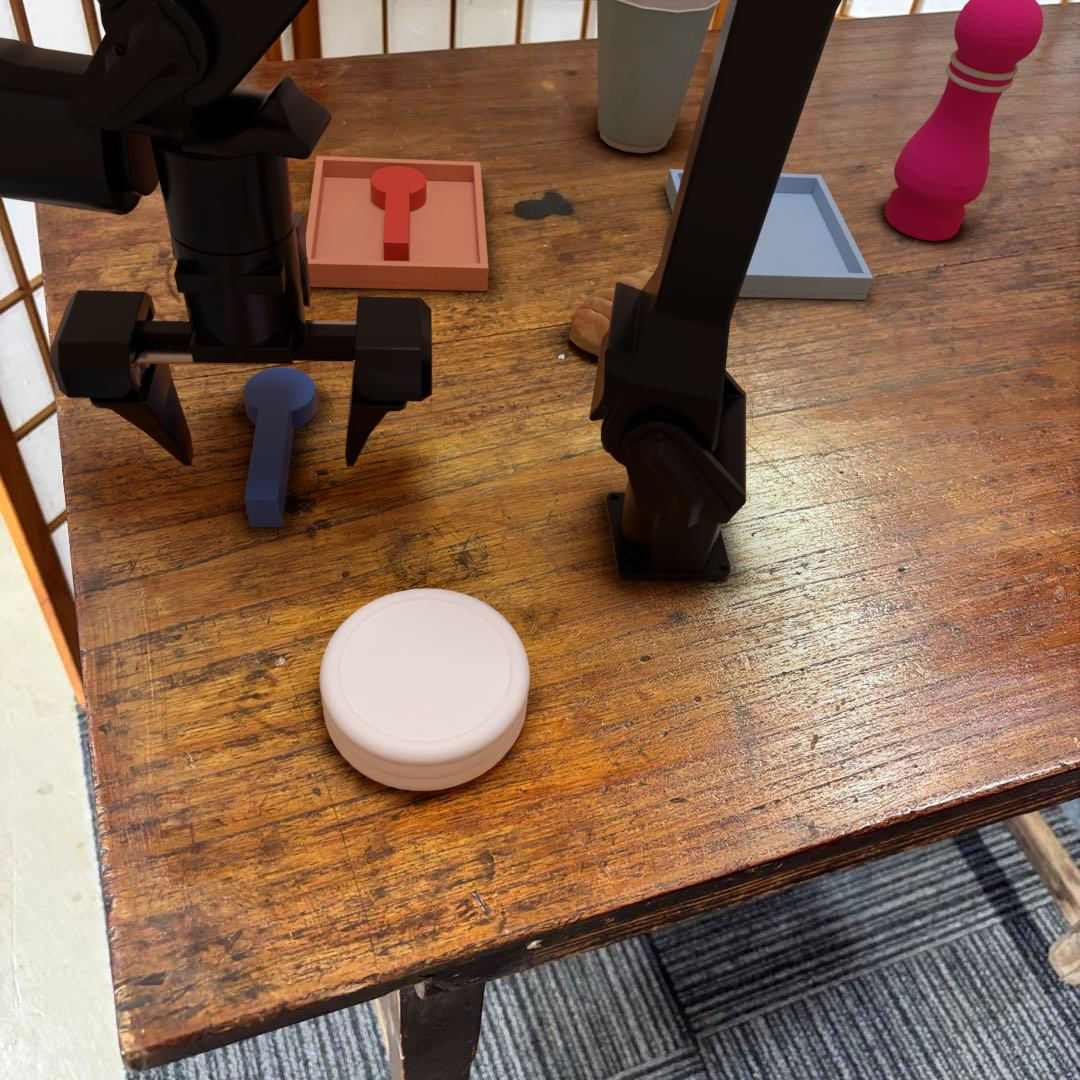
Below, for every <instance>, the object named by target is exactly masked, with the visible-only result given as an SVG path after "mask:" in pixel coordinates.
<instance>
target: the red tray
mask: <svg viewBox="0 0 1080 1080" xmlns="http://www.w3.org/2000/svg"><path fill="white" fill-rule="evenodd" d="M314 163H315V164H314V169H313V171H314V172H313V179H312V185H311V186H312V187H311V193H310V200H309V208H308V215H307V223H306V228H305V232H306V250H307V257H308V268H309V278H310V287H311V288H339V289H376V290H377V289H381V290H383V289H384V290H385V289H386V290H390V289H391V290H421V291H422V290H423V291H427V290H429V291H465V292H466V291H468V292H487V291H488V288H489V286H488V285H489V257H488V244H487V231H486V218H485V217H486V216H485V205H484V204H485V203H484V192H483V178H482V177H483V176H482V165H481V162H480V161H463V160H462V161H461V160H460V161H459V160H436V159H435V160H434V159H408V158H381V157H378V158H377V157H357V156H355V157H353V156H327V155H316V157H315V162H314ZM389 166H405V167H410V168H413V169H416V170H418V171H420V172H421V173H422V174H423V175H424V176H425V178H426V188H427V198H426V202H425V204H424V205H423V206H422V207H420V208H418V209H416V210H413V211H410V246H409V261H384V246H383V239H384V217H385V210H383V209H381V208H379V207H377V206H376V205H375V204H374V203H373V201H372V199H371V186H370V178H371V176H372V174H373V173H374V172H375V171H377V170H379V169H381V168H384V167H389Z"/></svg>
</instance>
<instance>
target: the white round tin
mask: <svg viewBox="0 0 1080 1080" xmlns="http://www.w3.org/2000/svg"><path fill="white" fill-rule="evenodd" d="M318 679H319V682H318V683H319V691H320V692H319V693H320V695H321V705H322V710H323V719H324V723H325V727H326V729H327V733H328V735H329V737H330V739H331V741H332V743H333V744H334V746H335V748H336V749H337V750H338V752H339V753H340V754H341V756H342V757H343V758H344V759H345V761H347V762H348V763H349V764H350V765H351V767H353V768H354V769H355V770H357V771H358V772H359V773H361V774H362V775H363V776H365V777H367V778H369V779H371V780H372V781H374V782H377V783H379V784H382V785H384V786H387V787H390V788H395V789H397V790H403V791H404V790H406V791H410V792H411V791H412V792H431V791H439V790H440V791H441V790H445V789H449V788H453V787H457V786H460V785H462V784H465V783H469V782H470V781H472V780H474V779H476V778H478V777H481V776H482V775H483V774H485V773H486V772H488V771H489V770H490V769H492V768H493V767H494V766H496V765H497V764H498V763H499V762H501V760H502V759H503V758H504V757H505V755H507V754H508V752H509V751H510V749H511V748H512V747H513V745H514V744H515V742H516V741H517V739H518V737H519V736H520V734H521V732H522V728H523V726H524V723H525V719H526V716H527V705H528V701H529V691H530V683H531V669H530V662H529V658H528V654H527V652H526V649H525V646H524V644H523V642H522V640H521V638H520V636H519V634H518V633H517V631H516V630H515V628H514V627H513V626H512V624H511V623H510V622H509V621H508V620H507V619H506V618H505V616H504V615H502V614H501V613H500V612H499V611H497V610H496V609H495V608H493V607H491V605H489V604H488V603H486V602H484V601H482V600H480V599H478V598H476V597H474V596H471V595H468V594H465V593H462V592H459V591H455V590H449V589H443V588H430V587H429V588H427V587H426V588H425V587H423V588H411V589H405V590H400V591H396V592H393V593H389V594H386V595H383V596H381V597H378V598H376V599H374V600H372V601H369V602H368V603H366V604H365V605H362V606H361V607H360V608H358V609H357V610H356V611H354V612H353V613H352V614H351V615H349V616H348V617H347V618H346V619H345V620H344V621H343V622H342V623H341V624H340V625H339V627H337V629H336V630H335V631H334V633H333V635H332V636H331V638H330V640H329V641H328V644H327V646H326V648H325V650H324V653H323V655H322V659H321V662H320V666H319V677H318Z"/></svg>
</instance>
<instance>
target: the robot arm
mask: <svg viewBox="0 0 1080 1080" xmlns="http://www.w3.org/2000/svg"><path fill="white" fill-rule="evenodd" d="M310 1H311V0H96V2H97V3H98V5H99V15H100V22H101V26H102V29H103V31H104V33H105V34H104V36H103V38H102V40H101V41H100V42H99V43H100V44H98V47H97V48H96V51H95V53H94V54H85V53H81V52H80V53H79V52H72V51H66V50H58V49H52V48H44V47H41V46H37V45H33V44H30V43H29V42H26V41H23V40H19V39H16V38H15V39H14V38H9V37H8V38H7V37H1V36H0V198H2V199H8V200H16V201H21V202H29V203H35V204H42V205H48V206H55V207H62V208H69V209H74V210H81V211H88V212H93V213H94V212H95V213H102V214H109V215H116V216H124V215H128V214H130V213H131V212H133V211H134V210H135V209H136V207H137V206H138V205H139V203H140V201H141V199H142V197H147V196H150V195H152V194H153V193H154V192H155V190H156V189H157V188H158V185H159V187H160V191H161V195H162V200H163V206H164V210H165V215H166V219H167V224H168V228H169V235H170V242H171V252H172V256H173V258H174V260H175V262H176V265H175V269H174V271H173V276H174V281H175V286H176V291H177V293H178V294H183V300H184V305H185V309H186V314H187V318H188V320H154V319H155V315H156V309H155V305H154V300H153V297H152V295H151V294H150V293H148V292H147V291H144V290H143V291H140V290H139V291H137V290H99V289H98V290H96V289H92V290H91V289H90V290H89V289H88V290H87V289H77V291H76V292H75V293H74V294H73V295H72V296H71V298H70V299H69V300H68V302H67V304H66V307H65V309H64V312H63V314H62V317H61V320H60V322H59V325H58V328H57V331H56V333H55V335H54V338H53V340H52V343H51V346H50V349H49V350H50V366H51V369H52V374H53V375H54V379H55V382H56V384H57V387H58V391H60V392H61V393H62V394H64V395H65V396H66V397H67V398H69V399H70V398H71V399H89V401H90V403H91V405H92V406H93V407H94V408H97V409H103V410H105V409H106V410H111V411H112V412H114V413H115V414H117V415H118V416H120V417H121V418H123V419H124V420H126V421H127V422H128V423H130V424H131V425H133V426H134V427H136V428H137V429H139V430H140V431H141V432H143V433H145V434H146V435H147V436H148V437H149V438H151V440H153V441H155V443H157V444H158V445H159V446H160V447H161V448H162V449H164V450H165V451H166V452H167V453H168V454H169V455H171V456H172V457H173V458H174V459H176V460H177V462H179V463H180V464H181V465H182V466H184V467H192V466H193V461H194V458H195V452H194V446H193V440H192V435H191V430H190V427H189V424H188V422H187V418H186V415H185V413H184V409H183V406H182V403H181V400H180V398H179V395H178V391H177V388H176V386H175V382H174V379H173V376H172V373H171V367H170V365H193V366H194V365H196V366H199V365H202V366H261V367H262V366H263V367H264V366H268V365H293V364H294V362H346V363H347V362H349V363H351V362H353V363H352V364H353V365H352V375H351V382H350V383H351V385H350V393H349V404H348V414H347V425H346V433H345V435H346V436H345V437H346V438H345V450H344V458H345V463H346V467H347V468H354V467H355V466H356V464H357V461H358V460H359V456H360V455H361V452H362V451H363V449H364V447H365V445H366V443H367V441H368V439H369V437H370V436H371V434H372V433H373V432H374V430H375V429H376V428H377V426H378V425H379V424H380V422H382V420H383V419H384V418H385V417H386V415H387V414H388V413H390V412H401V411H404V410H405V409H406V408H407V406H408V402H414V403H415V402H416V403H417V402H419V403H420V402H423V401H425V400H427V399H428V398H430V397H431V396H432V395H433V334H432V333H433V327H432V326H433V325H432V324H433V323H432V322H433V319H432V318H433V317H432V315H433V313H432V308H431V307H430V305H429V304H428V303H426V301H425V300H424V299H423V298H422V297H409V296H408V297H407V296H406V297H405V296H404V297H403V296H402V297H401V296H364V295H363V296H357V302H356V305H357V306H356V317H355V318H356V319H355V320H333V319H332V320H331V319H330V320H325V319H306V313H305V307H310V305H311V297H312V287H310V278H309V268H308V257H307V250H306V217H305V216H306V215H305V214H304V213H303V212H300V211H294V205H293V203H294V202H293V195H292V184H291V177H290V166H289V159H295V160H302V161H303V160H308V159H309V158H310V157H311V156H312V155H313V153H314V151H315V149H316V147H317V146H318V144H319V143H320V140H322V137H323V135H324V133H325V132H326V131H327V129H328V128H329V125H330V124H331V122H332V114H331V112H330V111H329V110H328V109H327V108H326V107H325V106H323V105H322V104H321V103H320V102H319V101H318V100H317V99H315V98H314V97H312V96H310V95H309V94H307V93H305V92H304V91H303V90H302V89H301V88H300V87H299V86H298V85H297V83H296V82H295V80H294V79H293V77H291V76H290V75H288V74H287V75H283V76H281V78H280V79H279V81H278V82H277V83H276V85H275V86H274V87H272V88H270V89H265V90H263V89H256V88H249V87H244V86H239V85H240V83H241V82H242V81H243V80H244V79H245V78H246V77H247V75H248V74H249V73H250V72H251V71H252V69H253V68H254V67H255V66H256V65H257V64H258V63H259V62H260V61H261V59H262V58H263V57H264V56H265V54H266V53H268V51H269V50H270V49H271V47H272V46H273V45H274V44H275V43H276V41H278V39H279V38H280V37H281V36H282V34H283V33H285V31H286V30H287V28H288V27H289V26H290V25H291V24H292V22H294V20H295V19H296V18H297V16H298V15H299V14H300V13H301V12H302V10H304V8H306V6H307V5H308V3H309V2H310ZM842 1H843V0H728V1H727V5H726V9H725V12H724V16H723V20H722V24H721V27H720V32H719V35H718V39H717V43H716V47H715V49H714V53H713V58H712V61H711V65H710V66H711V67H710V69H709V73H708V76H707V80H706V84H705V88H704V92H703V95H702V99H701V103H700V107H699V111H698V114H697V119H696V122H695V126H694V129H693V134H692V136H691V141H690V145H689V148H688V153H687V156H686V159H685V164H684V168H683V170H684V171H683V175H682V178H681V182H680V186H679V190H678V193H677V197H676V201H675V205H674V208H673V212H672V211H671V216H670V219H669V224H668V226H667V227H668V228H667V231H666V236H665V238H664V239H665V240H664V243H663V246H662V250H661V253H660V258H659V261H658V266H657V268H656V270H655V272H654V273H653V275H652V276H651V278H650V279H649V280H648V282H647V283H646V284H645V286H644V287H643V288H642V290H640V289H637V288H634V287H631V286H629V285H626V284H623V283H621V282H617V283H616V285H615V292H614V298H613V305H612V311H611V318H610V324H609V330H608V331H607V332H606V333H605V335H604V336H603V337H602V341H601V347H600V353H599V356H598V360H597V366H596V372H595V379H594V384H593V392H592V396H591V397H592V399H591V404H590V410H589V418H588V419H589V420H590V422H597V421H601V426H600V442H601V446H602V449H603V451H604V452H605V453H607V454H609V455H611V457H612V458H613V459H614V460H615V461H616V462H617V463H619V464H620V465H621V466H623V467H625V470H626V473H627V477H628V479H627V483H626V487H625V492H624V491H623V492H618V491H617V492H614V491H613V492H609V493H608V494H607V495H606V496H605V497H606V498H605V508H606V514H607V519H608V520H607V521H608V526H609V532H610V540H611V545H612V550H613V557H614V563H615V569H616V574H617V576H618V577H619V579H620V580H622V581H706V580H707V581H715V580H716V581H717V580H718V581H720V580H721V581H722V580H726V579H728V578H729V577H730V575H731V572H732V570H731V569H732V567H731V564H730V560H729V556H728V552H727V548H726V543H725V541H724V536H723V534H722V525H726V524H728V523H729V522H730V521H731V520H732V518H734V516H735V515H736V514H737V513H738V512H739V511H740V510H741V509H742V508H743V507H744V505H745V504H746V503H747V393H746V392H745V390H744V389H743V388H742V387H741V385H740V384H739V383H738V382H737V381H736V380H735V378H734V377H733V376H732V375H731V374H730V373H729V371H728V370H727V361H728V360H727V359H728V349H729V348H728V347H729V338H730V329H731V320H732V317H733V314H734V311H735V309H736V305H737V303H738V300H739V298H740V297H739V294H740V291H741V288H742V285H743V282H744V279H745V276H746V274H747V271H748V268H749V265H750V262H751V259H752V256H753V253H754V250H755V247H756V244H757V241H758V239H759V236H760V233H761V230H762V227H763V224H764V221H765V218H766V215H767V212H768V209H769V206H770V203H771V201H772V198H773V195H774V192H775V189H776V186H777V183H778V180H779V177H780V174H781V173H782V172H783V169H784V165H785V162H786V160H787V157H788V153H789V151H790V148H791V145H792V142H793V139H794V136H795V133H796V130H797V128H798V125H799V121H800V119H801V116H802V113H803V110H804V107H805V104H806V102H807V99H808V95H809V92H810V90H811V87H812V84H813V81H814V78H815V76H816V72H817V69H818V67H819V63H820V60H821V57H822V55H823V51H824V48H825V45H826V42H827V40H828V38H829V34H830V32H831V29H832V26H833V23H834V20H835V17H836V14H837V11H838V9H839V7H840V5H841V3H842ZM626 571H628V572H626Z"/></svg>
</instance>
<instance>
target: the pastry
mask: <svg viewBox="0 0 1080 1080" xmlns="http://www.w3.org/2000/svg"><path fill="white" fill-rule="evenodd" d="M658 264H659V263H658ZM658 264H657V263H655V264H654V265H652V266H647V267H645V268H643V270H639V271H637V272H631V273H630V272H628V273H626V274H624V275H620V276H616V277H613V278H612V279H610V280H609V281H608V282H607V283H605V284H603V285H602V286H600V288H598V289H596V290H595V291H594V292H593V293H592V294H591V295H590V296H589V297H588V298H587V299H585V301H584V303H582V304H581V305H580V306H579V307H578V309H577V310H576V311H575V312H574V313H573V314H572V316H571V320H570V321H571V325H570V332H569V335H568V338H569V341H571V342H572V343H574V344H575V346H577V347H578V348H580V349H581V350H583V351H586V352H588V353H590V354H593V355H595V356H597V357H599V353H600V347H601V341H602V337H603V336H604V335H605V333H606V332H607V331H608V330H609V324H610V318H611V311H612V305H613V298H614V292H615V285H616V283H617V282H621V283H623V284H626V285H629V286H631V287H634V288H637V289H640V290H642V288H643V287H644V286H645V284H646V283H647V282H648V280H649V279H650V278H651V276H652V275H653V273H654V272H655V270H656V268H657V266H658Z"/></svg>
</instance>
